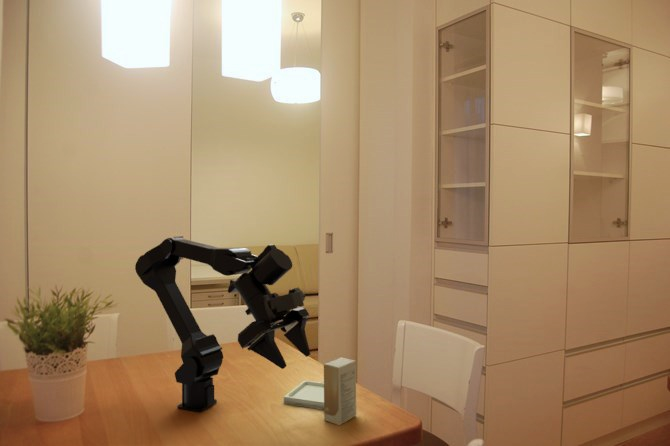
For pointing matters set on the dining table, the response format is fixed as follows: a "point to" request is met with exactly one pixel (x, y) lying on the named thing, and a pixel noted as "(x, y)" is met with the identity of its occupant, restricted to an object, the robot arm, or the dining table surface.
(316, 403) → the sage dish
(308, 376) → the dining table surface
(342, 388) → the skincare box
